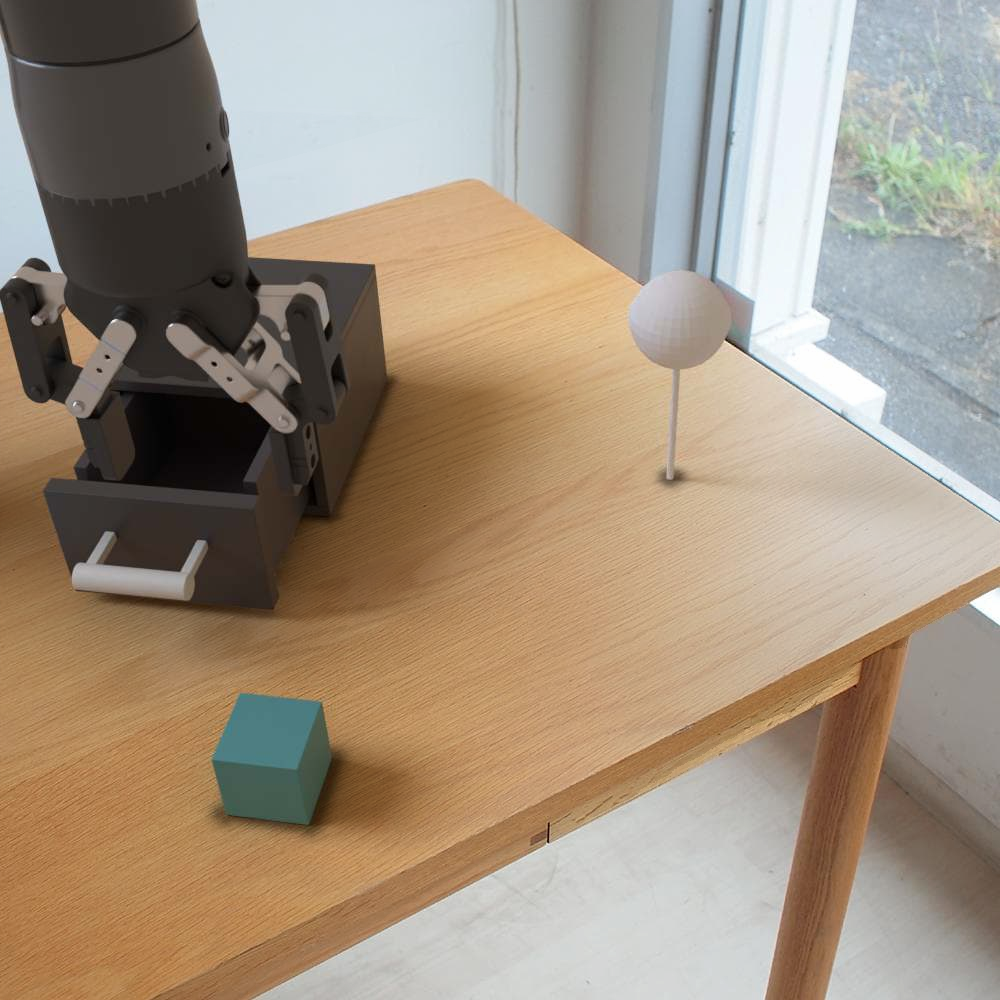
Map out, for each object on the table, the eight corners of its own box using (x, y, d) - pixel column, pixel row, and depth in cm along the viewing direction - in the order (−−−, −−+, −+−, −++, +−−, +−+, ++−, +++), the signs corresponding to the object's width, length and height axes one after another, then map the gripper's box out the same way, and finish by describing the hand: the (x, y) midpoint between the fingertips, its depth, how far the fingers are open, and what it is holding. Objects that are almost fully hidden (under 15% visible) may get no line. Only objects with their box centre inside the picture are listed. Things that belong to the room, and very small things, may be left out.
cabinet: (330, 516, 85) (311, 394, 79) (131, 499, 87) (97, 378, 81) (387, 379, 97) (375, 263, 90) (211, 367, 99) (187, 253, 93)
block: (225, 815, 67) (210, 759, 64) (252, 748, 70) (239, 692, 68) (309, 825, 66) (297, 769, 64) (332, 757, 70) (322, 701, 67)
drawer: (251, 664, 74) (228, 561, 69) (44, 642, 76) (7, 540, 71) (339, 459, 88) (325, 361, 83) (163, 445, 90) (139, 348, 85)
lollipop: (613, 497, 85) (618, 295, 76) (633, 444, 90) (640, 246, 80) (708, 513, 84) (726, 309, 74) (724, 458, 88) (743, 258, 78)
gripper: (-89, 183, 49) (29, 516, 59) (277, 199, 47) (333, 543, 57) (4, 102, 55) (97, 419, 65) (334, 113, 53) (376, 440, 63)
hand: (207, 477), depth 61 cm, fingers open, 8 cm apart
